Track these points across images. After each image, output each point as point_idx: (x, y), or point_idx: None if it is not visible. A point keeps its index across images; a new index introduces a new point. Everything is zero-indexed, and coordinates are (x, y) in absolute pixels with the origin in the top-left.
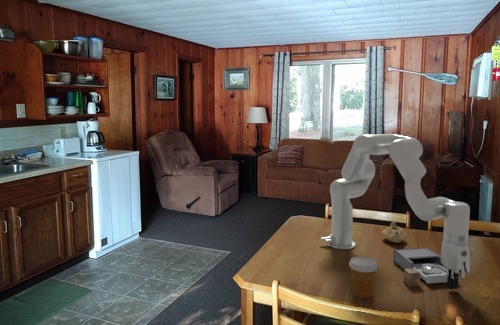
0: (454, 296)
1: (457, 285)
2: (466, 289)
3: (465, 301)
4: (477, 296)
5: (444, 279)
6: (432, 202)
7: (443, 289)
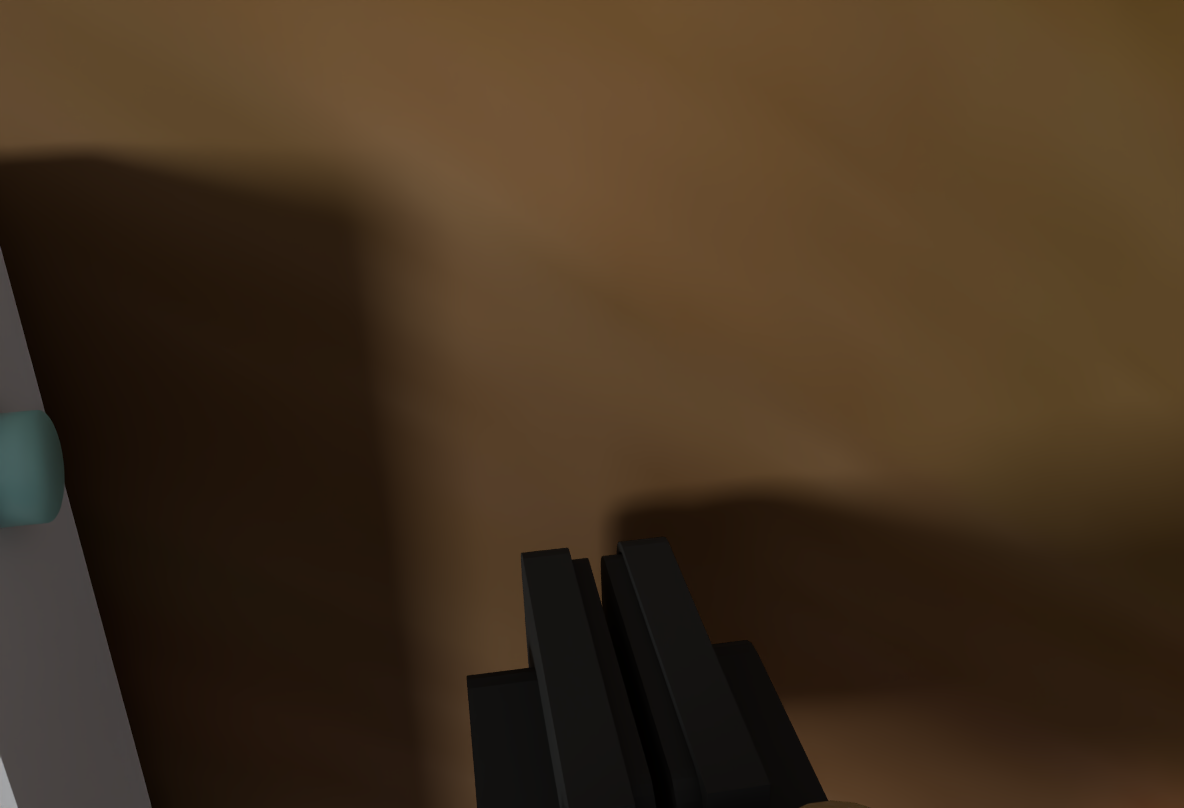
0: (861, 664)
1: (689, 607)
2: (523, 132)
3: (1133, 545)
4: (1011, 75)
5: (88, 721)
6: None
7: (470, 750)
